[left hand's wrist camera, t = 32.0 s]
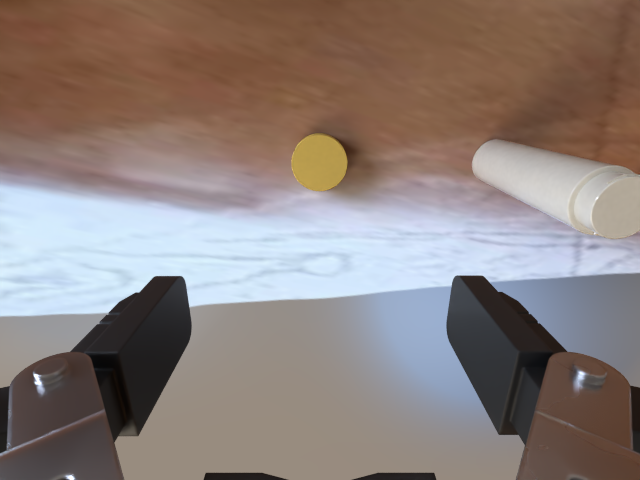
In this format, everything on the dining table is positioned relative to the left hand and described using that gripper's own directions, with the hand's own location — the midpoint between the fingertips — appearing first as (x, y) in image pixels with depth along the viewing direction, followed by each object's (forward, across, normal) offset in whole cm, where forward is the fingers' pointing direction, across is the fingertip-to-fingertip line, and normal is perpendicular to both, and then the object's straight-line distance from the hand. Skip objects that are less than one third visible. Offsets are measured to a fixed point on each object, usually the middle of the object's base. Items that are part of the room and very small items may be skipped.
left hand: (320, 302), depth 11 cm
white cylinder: (+28, +18, 0) cm, 33 cm away
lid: (+26, 0, 0) cm, 27 cm away
